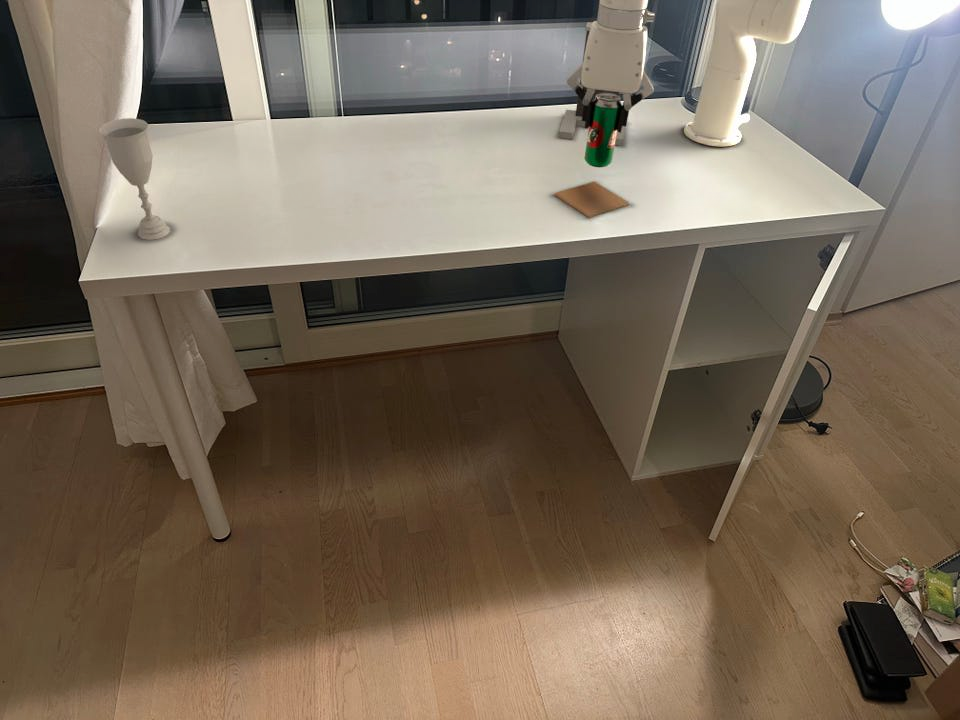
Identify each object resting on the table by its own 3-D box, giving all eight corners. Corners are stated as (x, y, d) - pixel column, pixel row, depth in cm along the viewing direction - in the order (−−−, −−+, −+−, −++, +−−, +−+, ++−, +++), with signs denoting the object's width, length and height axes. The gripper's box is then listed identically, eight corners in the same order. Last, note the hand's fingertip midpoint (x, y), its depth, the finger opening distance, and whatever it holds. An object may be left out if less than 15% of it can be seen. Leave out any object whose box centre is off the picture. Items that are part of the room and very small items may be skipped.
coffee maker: (565, 115, 166) (577, 17, 152) (625, 122, 164) (642, 24, 150) (558, 137, 156) (570, 35, 142) (621, 145, 154) (640, 43, 140)
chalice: (139, 221, 121) (108, 118, 109) (180, 221, 121) (153, 118, 110) (126, 243, 115) (92, 137, 104) (169, 243, 116) (140, 137, 104)
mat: (593, 183, 139) (594, 181, 139) (628, 205, 133) (629, 202, 133) (554, 195, 135) (554, 192, 134) (588, 217, 129) (589, 215, 128)
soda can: (610, 170, 127) (622, 104, 119) (582, 166, 128) (592, 100, 120) (612, 158, 131) (623, 93, 123) (585, 155, 131) (594, 90, 124)
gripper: (674, 16, 115) (652, 125, 127) (570, 6, 117) (558, 114, 129) (674, 29, 109) (651, 142, 121) (565, 18, 111) (552, 129, 123)
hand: (603, 126), depth 125 cm, fingers closed on soda can, 5 cm apart
